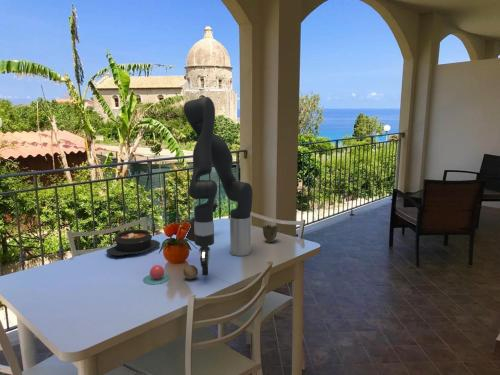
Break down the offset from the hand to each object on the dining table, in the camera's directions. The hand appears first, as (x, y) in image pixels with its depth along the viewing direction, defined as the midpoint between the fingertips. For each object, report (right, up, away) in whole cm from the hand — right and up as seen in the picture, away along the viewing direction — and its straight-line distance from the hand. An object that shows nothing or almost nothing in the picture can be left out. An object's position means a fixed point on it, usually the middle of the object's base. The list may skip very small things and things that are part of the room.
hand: (205, 274), depth 150 cm
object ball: (-19, +1, -1) cm, 19 cm away
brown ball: (-6, +1, -1) cm, 6 cm away
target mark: (-19, -2, 0) cm, 19 cm away
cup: (+27, +6, +44) cm, 52 cm away
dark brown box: (-8, +8, +52) cm, 53 cm away
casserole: (-37, +4, +32) cm, 49 cm away
